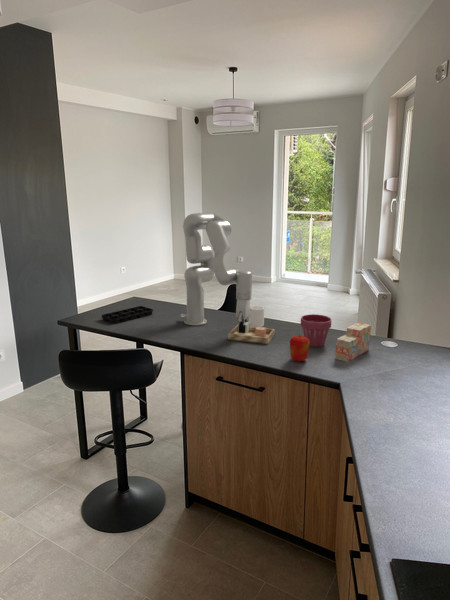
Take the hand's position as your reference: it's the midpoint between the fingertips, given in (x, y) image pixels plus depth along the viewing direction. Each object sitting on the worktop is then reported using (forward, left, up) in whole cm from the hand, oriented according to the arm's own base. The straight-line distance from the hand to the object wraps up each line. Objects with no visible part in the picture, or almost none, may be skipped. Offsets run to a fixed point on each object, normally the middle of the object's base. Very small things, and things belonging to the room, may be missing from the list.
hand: (243, 330), depth 214 cm
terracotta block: (+9, 0, -2) cm, 9 cm away
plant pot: (+35, +1, -3) cm, 36 cm away
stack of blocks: (+53, -7, -3) cm, 54 cm away
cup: (0, +19, -3) cm, 19 cm away
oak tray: (+4, 0, -3) cm, 5 cm away
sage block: (0, 0, 0) cm, 0 cm away
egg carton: (-72, +10, -3) cm, 73 cm away
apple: (+31, -23, -3) cm, 39 cm away
